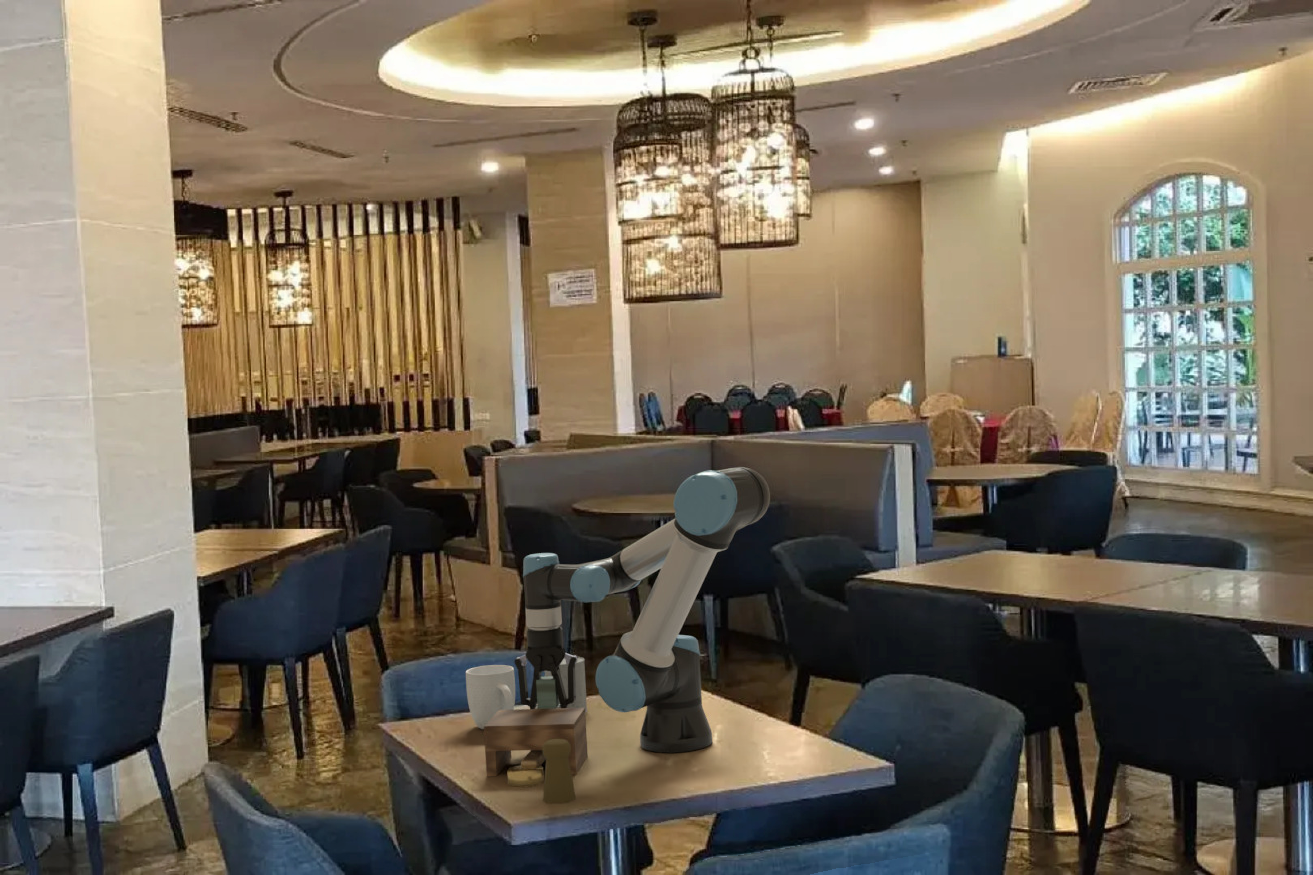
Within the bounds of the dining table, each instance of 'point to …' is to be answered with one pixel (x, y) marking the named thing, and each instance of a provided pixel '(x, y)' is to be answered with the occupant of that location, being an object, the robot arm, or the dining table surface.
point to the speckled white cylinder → (580, 682)
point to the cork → (557, 772)
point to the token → (525, 775)
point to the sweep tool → (545, 700)
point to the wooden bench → (534, 734)
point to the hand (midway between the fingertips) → (550, 736)
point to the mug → (489, 691)
